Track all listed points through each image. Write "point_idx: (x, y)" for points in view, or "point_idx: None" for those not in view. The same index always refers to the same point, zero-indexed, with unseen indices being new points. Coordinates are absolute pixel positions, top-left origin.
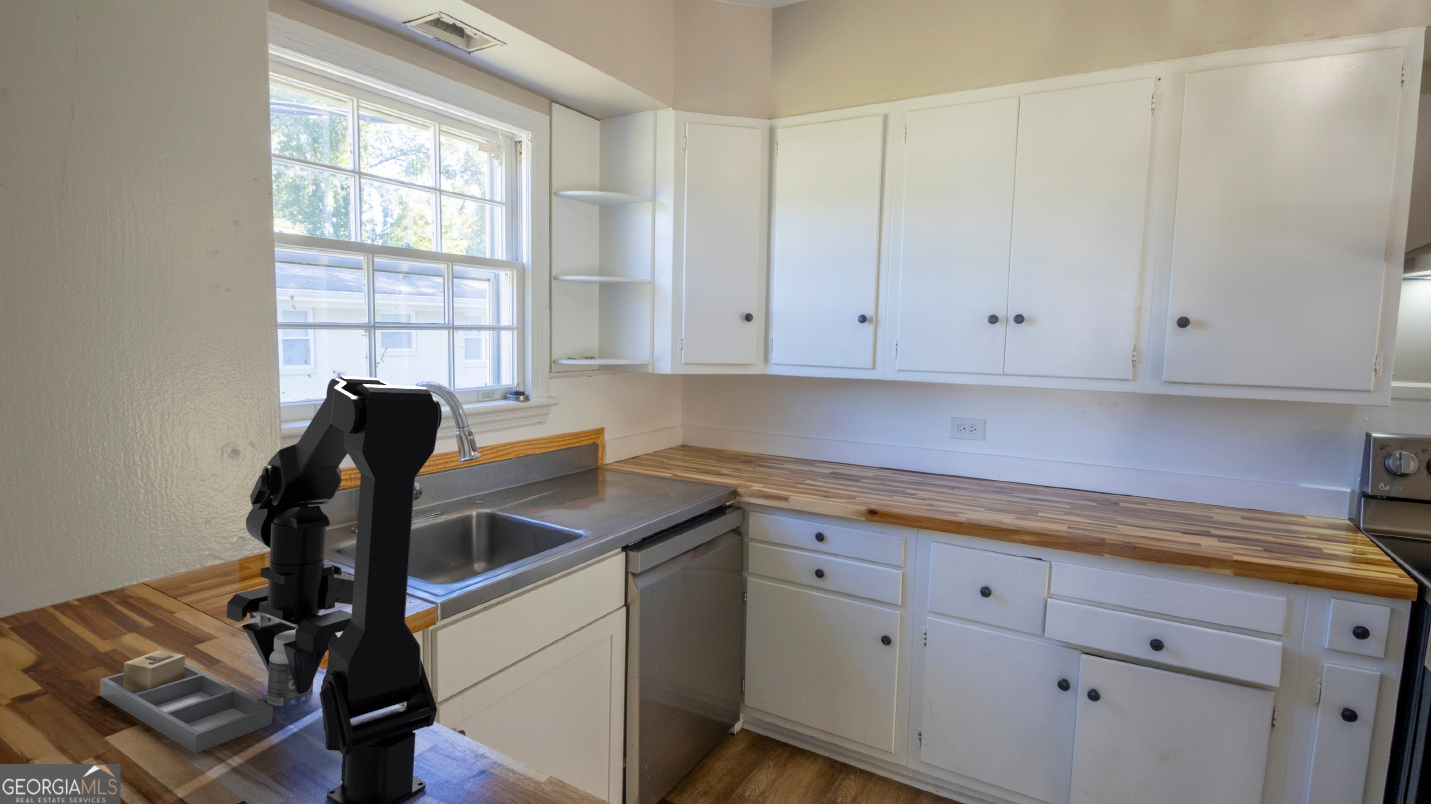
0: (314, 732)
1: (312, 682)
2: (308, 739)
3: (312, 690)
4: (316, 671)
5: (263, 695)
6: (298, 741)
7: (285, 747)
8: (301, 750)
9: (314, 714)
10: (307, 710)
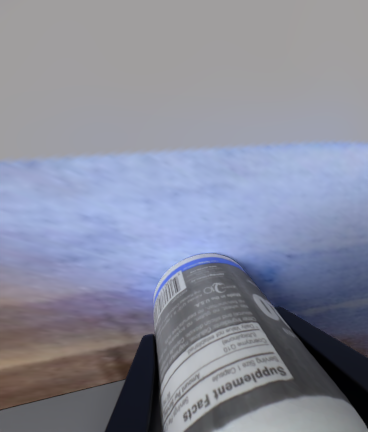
0: (341, 294)
1: (265, 297)
2: (350, 307)
3: (246, 275)
4: (354, 351)
5: (108, 321)
6: (341, 319)
7: (338, 335)
8: (365, 322)
9: (287, 273)
10: (260, 277)
